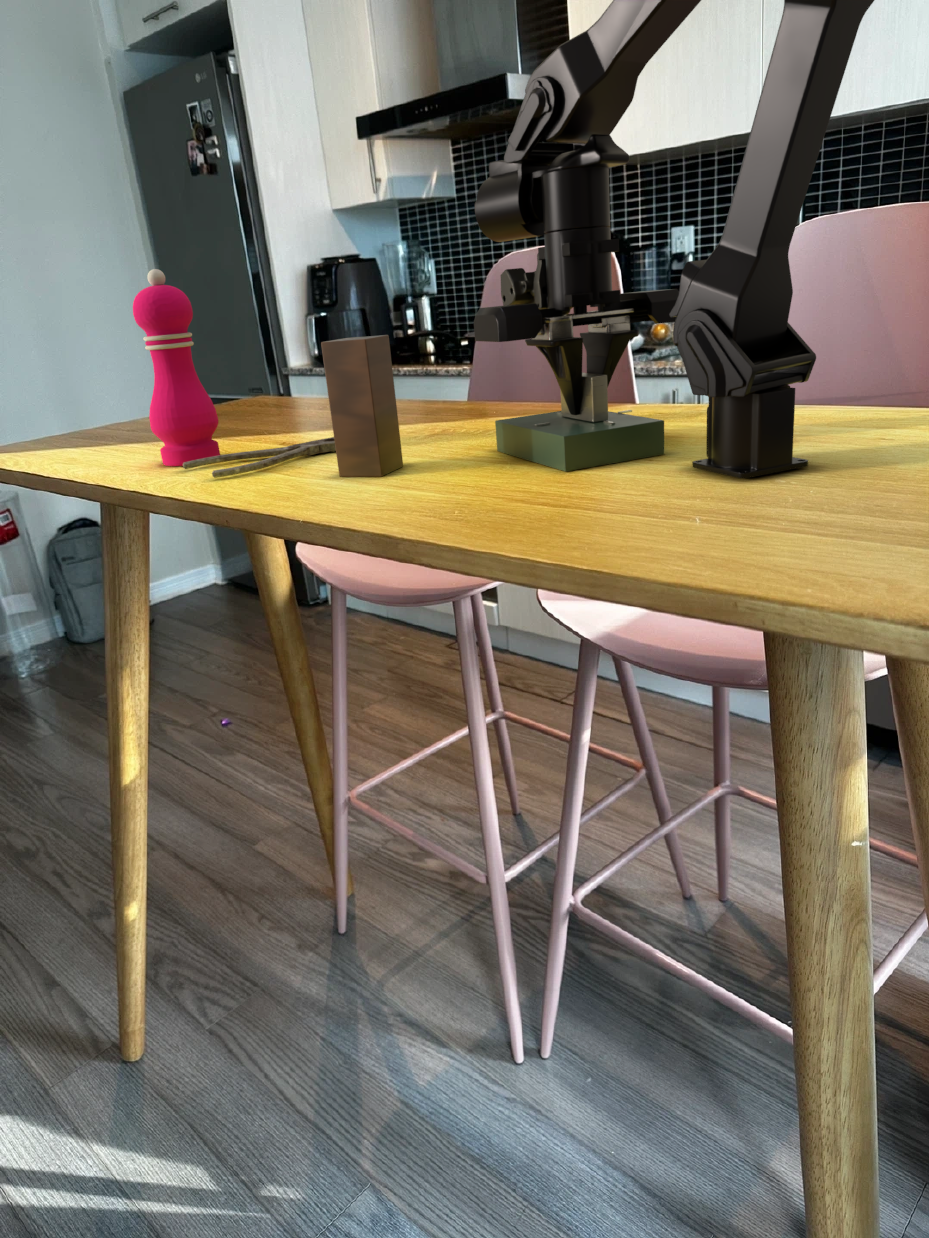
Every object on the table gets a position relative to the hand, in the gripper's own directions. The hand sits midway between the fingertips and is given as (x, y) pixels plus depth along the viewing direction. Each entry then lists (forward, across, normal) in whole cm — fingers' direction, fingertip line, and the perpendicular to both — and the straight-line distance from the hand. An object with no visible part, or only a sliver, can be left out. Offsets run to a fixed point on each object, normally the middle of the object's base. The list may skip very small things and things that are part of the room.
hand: (584, 413), depth 82 cm
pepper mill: (+4, +33, -30) cm, 45 cm away
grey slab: (0, 0, 0) cm, 0 cm away
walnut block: (+4, +19, -7) cm, 21 cm away
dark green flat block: (+4, +1, 0) cm, 4 cm away
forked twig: (+4, +25, -23) cm, 34 cm away
